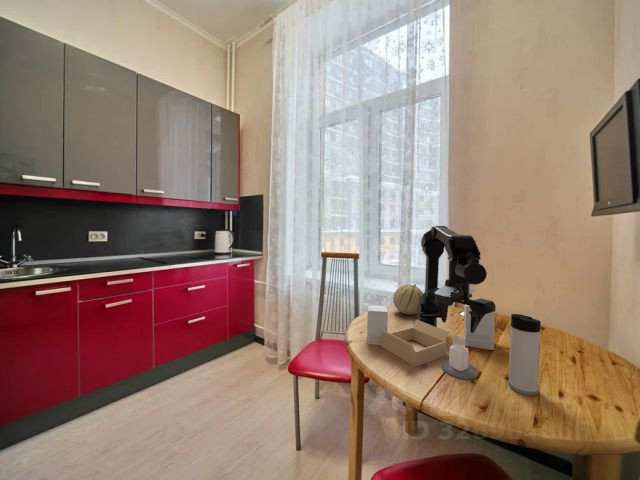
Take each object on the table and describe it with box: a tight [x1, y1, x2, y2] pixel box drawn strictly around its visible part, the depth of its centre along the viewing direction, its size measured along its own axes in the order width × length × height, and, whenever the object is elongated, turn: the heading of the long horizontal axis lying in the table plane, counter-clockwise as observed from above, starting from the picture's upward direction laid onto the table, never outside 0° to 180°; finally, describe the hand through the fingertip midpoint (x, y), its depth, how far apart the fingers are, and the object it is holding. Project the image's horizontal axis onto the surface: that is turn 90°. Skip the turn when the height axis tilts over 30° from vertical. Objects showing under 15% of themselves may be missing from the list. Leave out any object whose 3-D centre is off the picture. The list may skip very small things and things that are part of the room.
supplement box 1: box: [366, 305, 389, 346], centre depth 101 cm, size 7×7×13 cm
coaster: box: [440, 359, 479, 380], centre depth 81 cm, size 10×10×1 cm
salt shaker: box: [448, 334, 469, 371], centre depth 81 cm, size 4×4×10 cm
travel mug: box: [508, 313, 542, 397], centre depth 71 cm, size 6×7×20 cm
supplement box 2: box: [463, 304, 496, 351], centre depth 99 cm, size 9×9×15 cm
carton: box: [380, 319, 450, 367], centre depth 93 cm, size 19×15×7 cm
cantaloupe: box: [392, 283, 424, 316], centre depth 132 cm, size 15×15×15 cm
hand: (457, 327), depth 82 cm, fingers open, 9 cm apart
